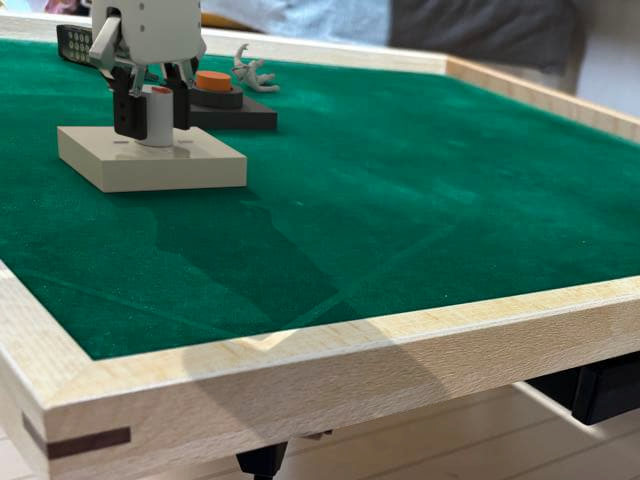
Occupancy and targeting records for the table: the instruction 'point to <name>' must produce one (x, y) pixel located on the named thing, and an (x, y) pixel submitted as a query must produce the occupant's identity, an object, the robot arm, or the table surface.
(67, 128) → the plate
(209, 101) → the button box
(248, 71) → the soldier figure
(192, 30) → the robot arm
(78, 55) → the mobile phone
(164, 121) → the grey cylinder
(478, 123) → the table surface
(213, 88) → the button
